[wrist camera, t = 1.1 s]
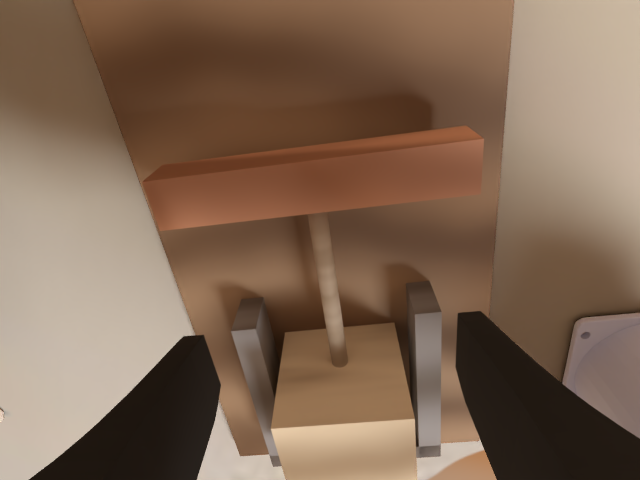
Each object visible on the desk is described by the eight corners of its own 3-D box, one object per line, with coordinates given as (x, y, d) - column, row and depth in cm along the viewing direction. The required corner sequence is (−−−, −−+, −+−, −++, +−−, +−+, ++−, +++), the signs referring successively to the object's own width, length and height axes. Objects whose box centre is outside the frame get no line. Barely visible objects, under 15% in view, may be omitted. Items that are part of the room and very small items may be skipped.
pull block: (449, 395, 24) (482, 498, 19) (254, 409, 25) (234, 511, 20) (455, 117, 16) (514, 161, 11) (174, 154, 17) (107, 210, 12)
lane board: (474, 427, 27) (492, 479, 24) (243, 442, 28) (232, 493, 25) (522, -271, 12) (588, -372, 9) (27, -168, 13) (-63, -225, 10)
